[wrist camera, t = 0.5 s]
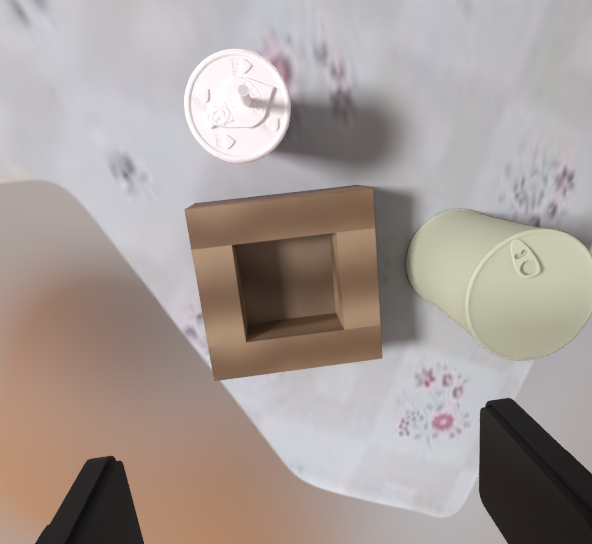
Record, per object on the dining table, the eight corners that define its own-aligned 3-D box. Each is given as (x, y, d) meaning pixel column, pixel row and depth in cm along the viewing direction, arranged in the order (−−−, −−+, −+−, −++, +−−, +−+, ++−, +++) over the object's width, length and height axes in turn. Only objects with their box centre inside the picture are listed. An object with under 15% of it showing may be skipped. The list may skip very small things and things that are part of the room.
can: (484, 190, 37) (586, 203, 25) (515, 280, 39) (620, 328, 28) (390, 236, 37) (448, 269, 26) (426, 322, 40) (494, 387, 28)
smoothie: (297, 140, 35) (320, 126, 21) (229, 176, 35) (208, 185, 21) (260, 64, 33) (259, -4, 19) (189, 103, 33) (140, 62, 20)
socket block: (195, 203, 35) (184, 209, 30) (358, 185, 36) (373, 188, 31) (220, 353, 39) (214, 380, 34) (367, 334, 39) (382, 358, 35)
